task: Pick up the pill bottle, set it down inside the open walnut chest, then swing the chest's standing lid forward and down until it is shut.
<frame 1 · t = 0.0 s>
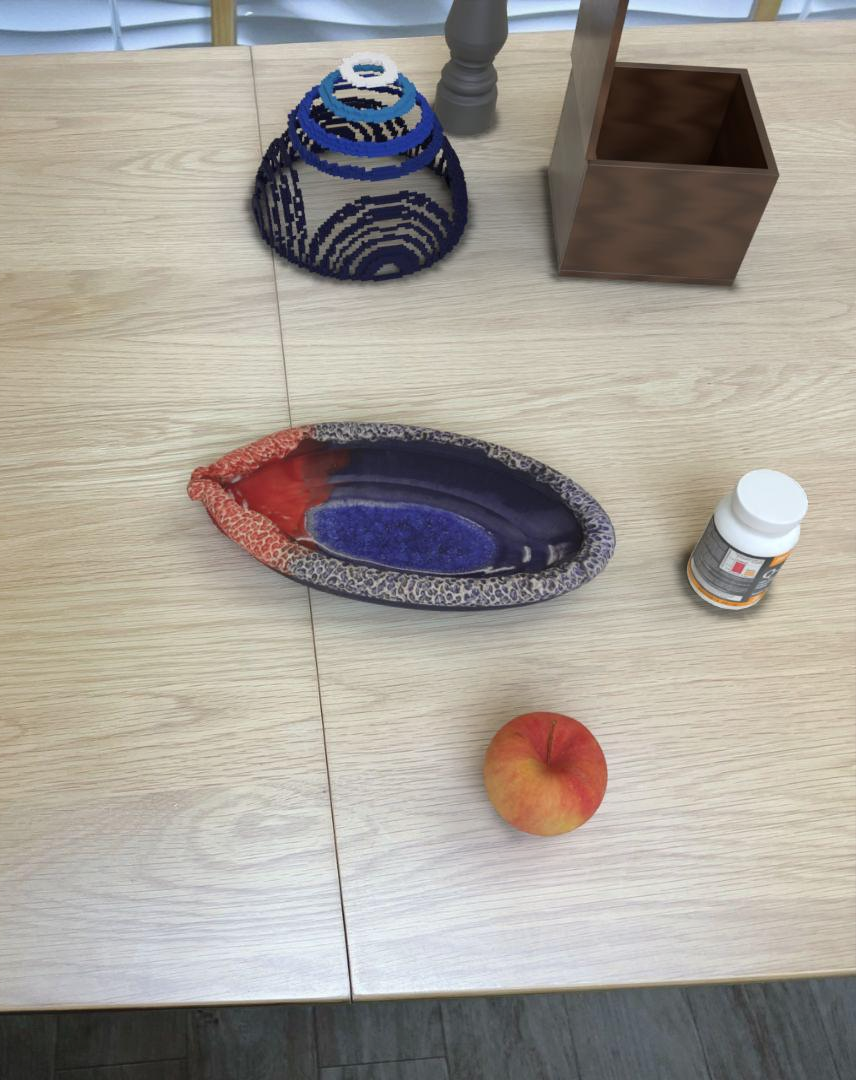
chest: (635, 226, 103), on the table
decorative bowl: (360, 212, 104), on the table
dish: (395, 538, 82), on the table
pill bottle: (722, 581, 80), on the table
apple: (531, 801, 70), on the table
candle holder: (462, 119, 113), on the table
lid: (600, 10, 87), point 20 cm above the table, hinge at 92.0°
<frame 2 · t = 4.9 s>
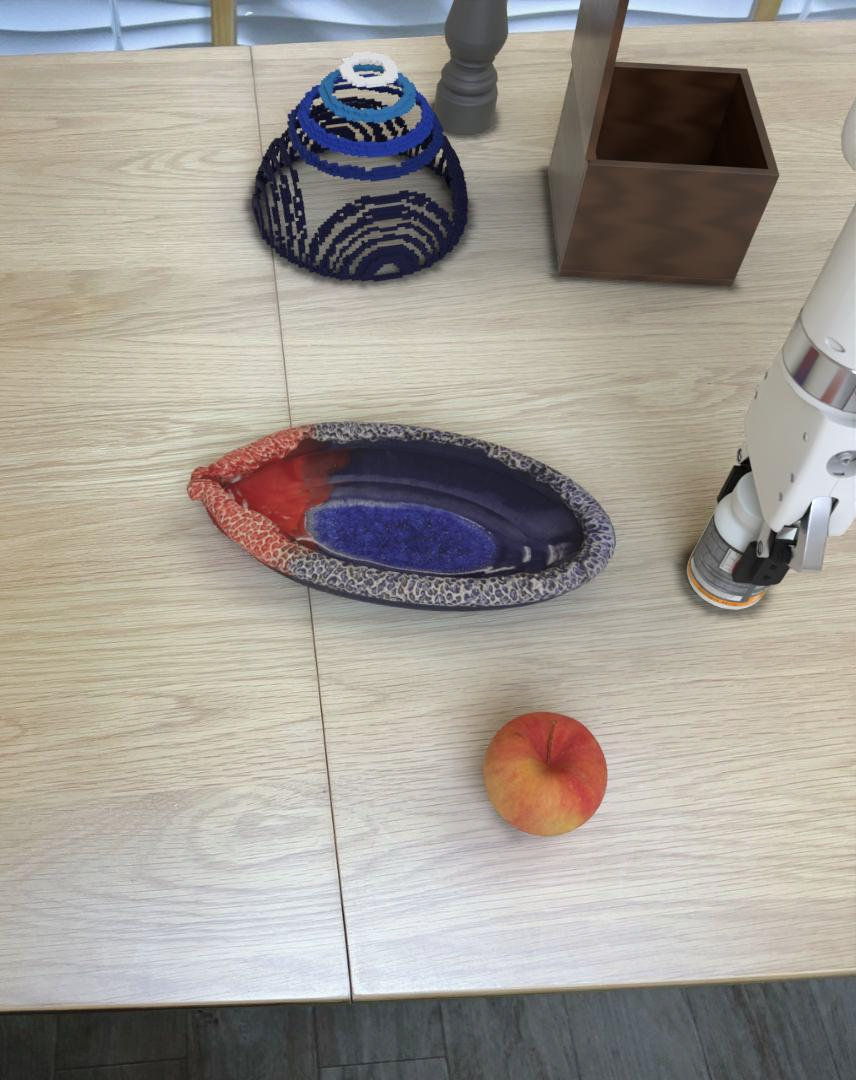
hand: (746, 540, 76), 5 cm above the table, tool pointing down, fingers closed on pill bottle, 5 cm apart
pill bottle: (722, 581, 80), on the table, touching gripper
everything else where it was.
when the fingers open (7 cm above the table, at t = 14.2 s): pill bottle stays where it is, resting on chest.
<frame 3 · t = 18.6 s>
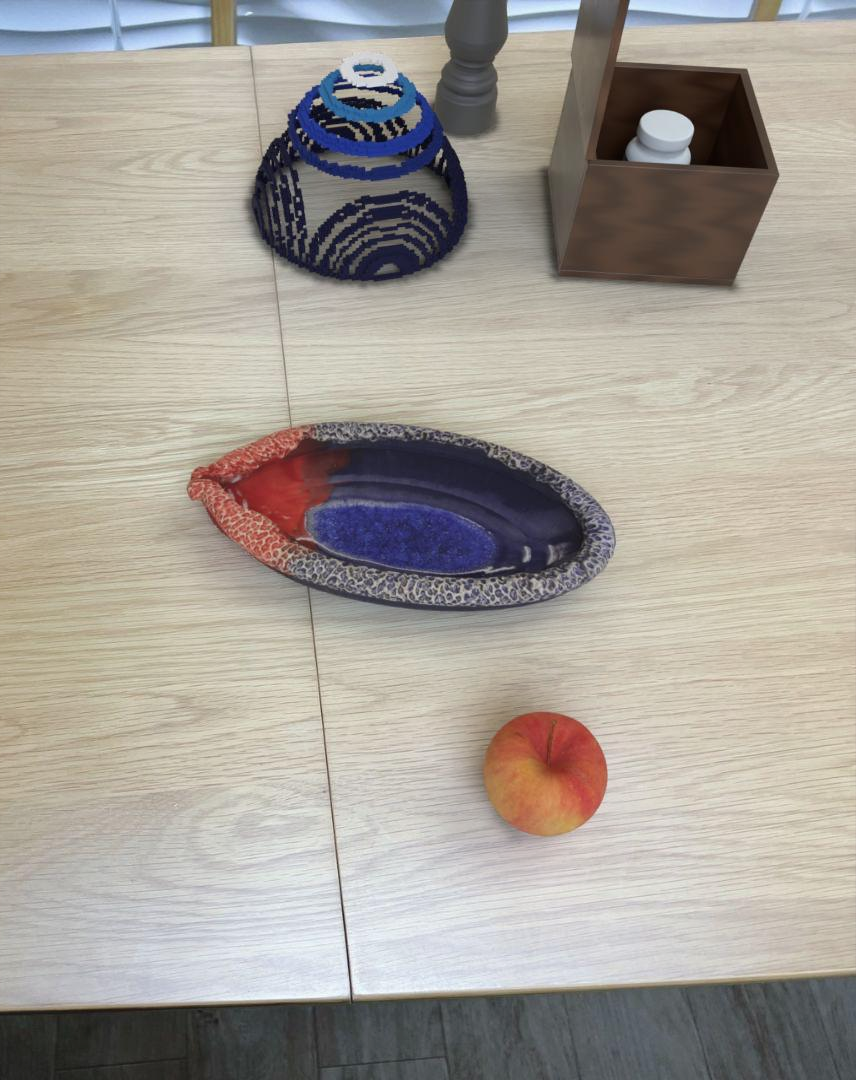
pill bottle: (637, 221, 103), point 1 cm above the table, touching chest
lid: (601, 10, 87), point 20 cm above the table, hinge at 91.7°, touching gripper
everything else where it was.
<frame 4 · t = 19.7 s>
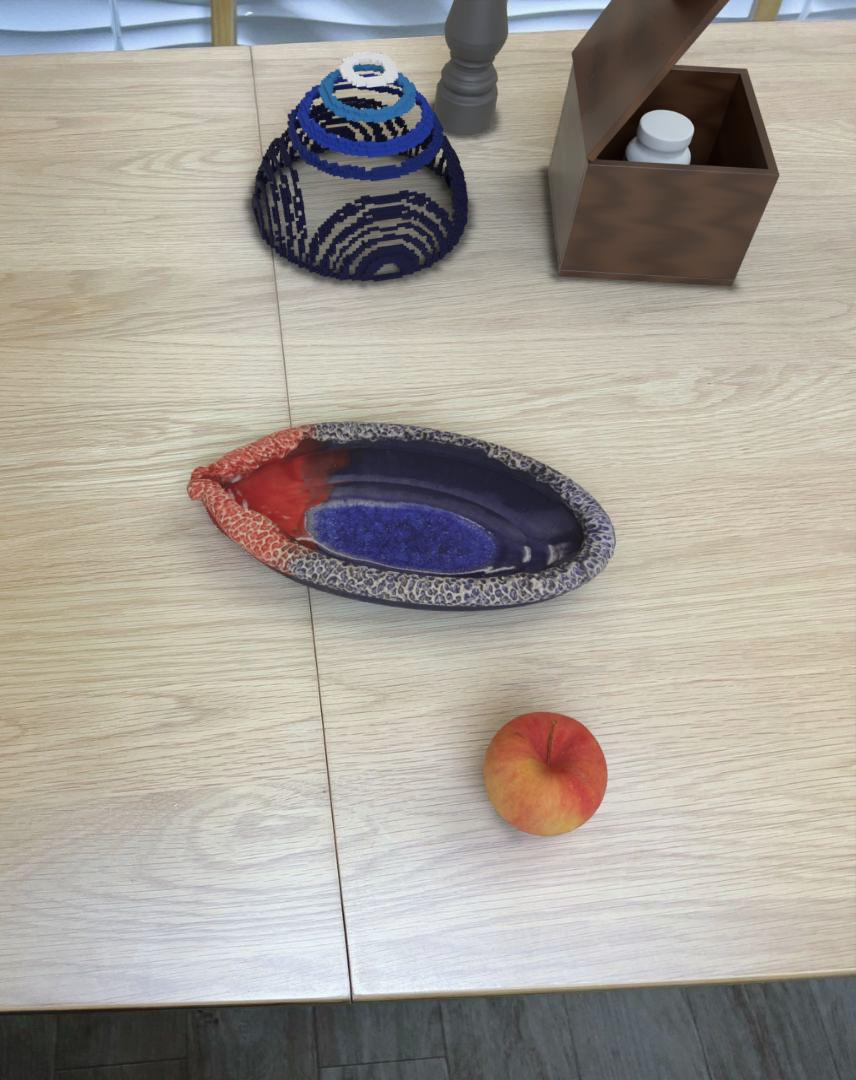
lid: (646, 22, 87), point 20 cm above the table, hinge at 64.2°, touching gripper
everything else where it was.
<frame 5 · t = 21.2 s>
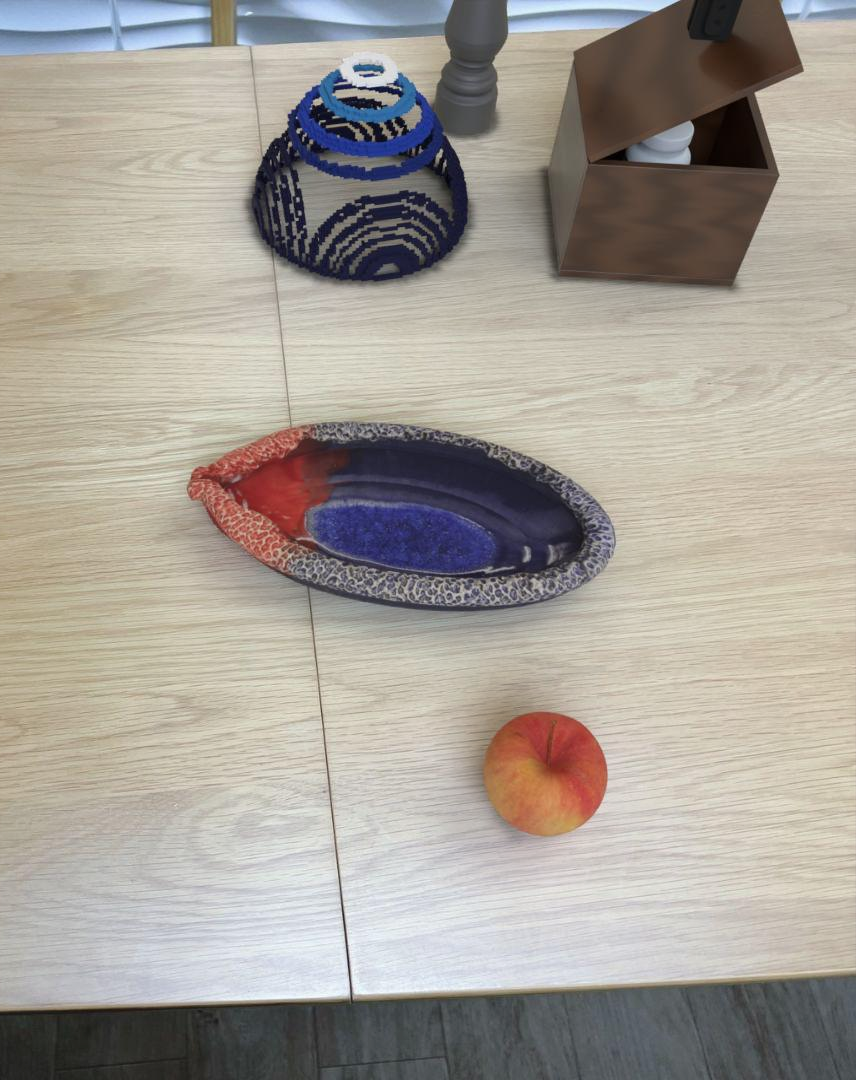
hand: (706, 34, 88), 19 cm above the table, tool pointing down, fingers closed
lid: (678, 60, 90), point 17 cm above the table, hinge at 32.4°, touching gripper
everything else where it was.
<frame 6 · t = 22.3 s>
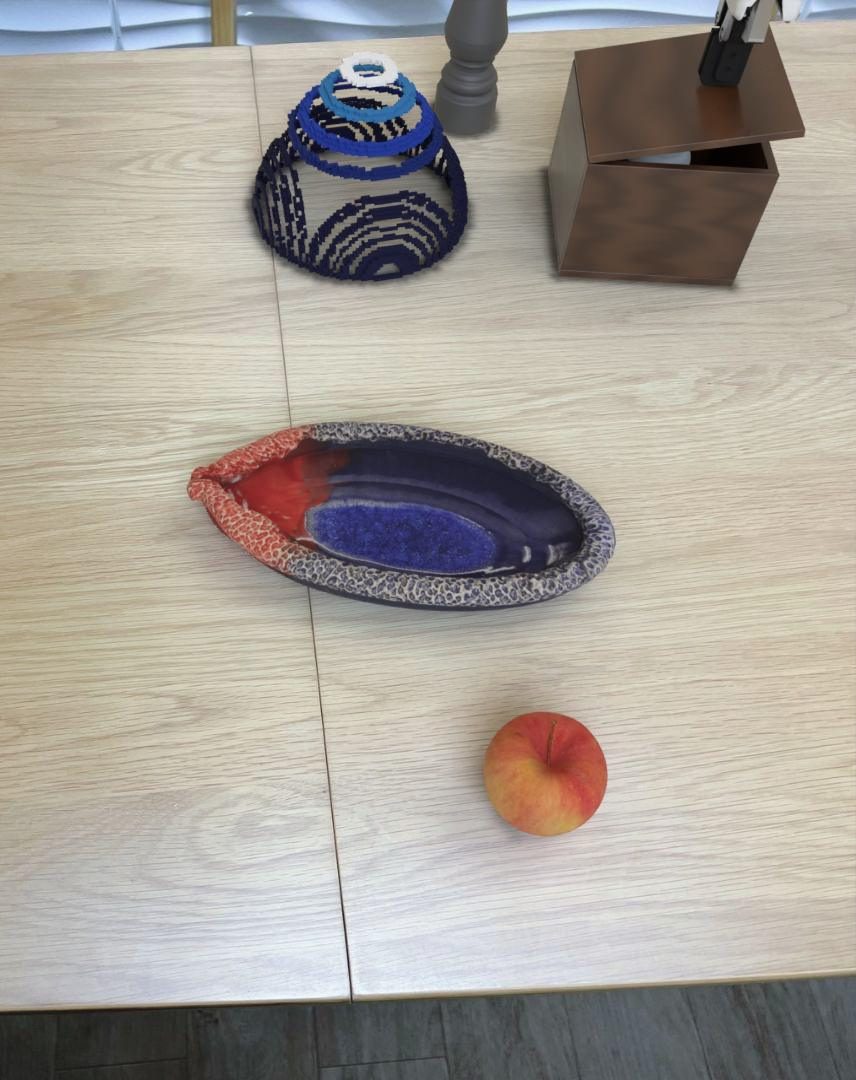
hand: (717, 79, 91), 15 cm above the table, tool pointing down, fingers closed
lid: (682, 91, 92), point 14 cm above the table, hinge at 12.1°, touching gripper
everything else where it was.
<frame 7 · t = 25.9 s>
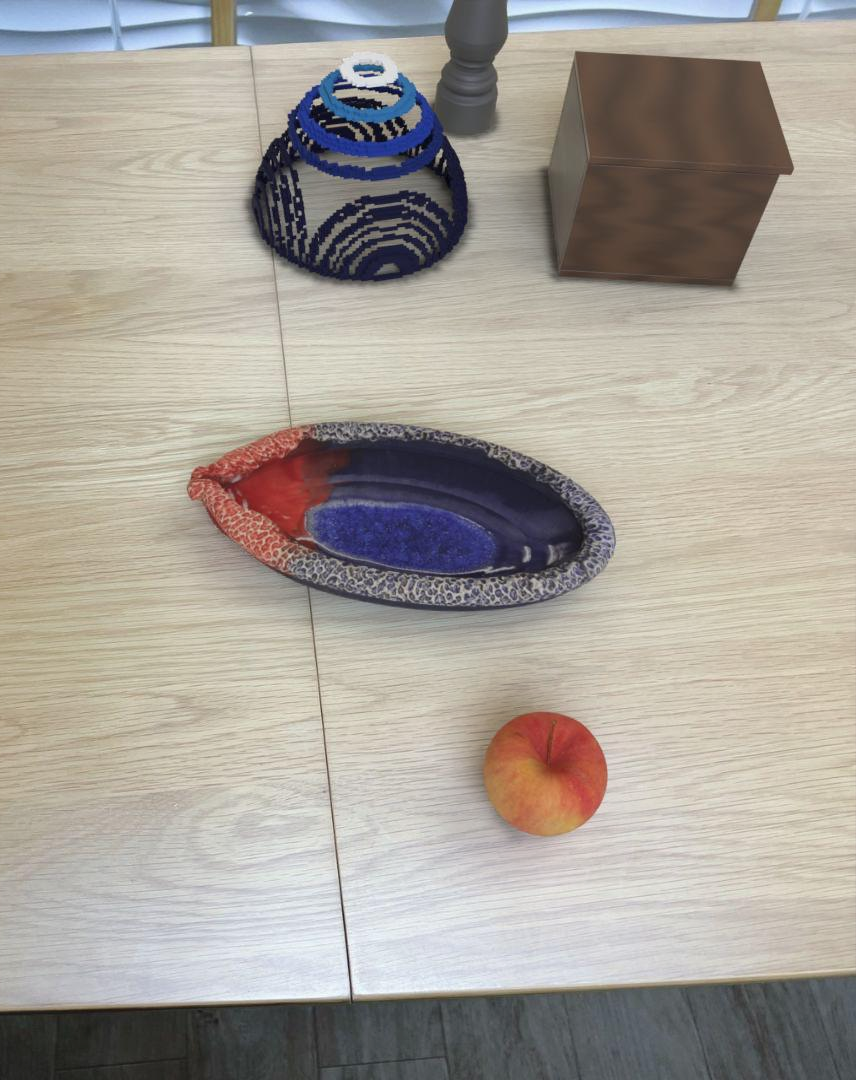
lid: (678, 110, 93), point 12 cm above the table, hinge at 0.0°
everything else where it was.
at the end: pill bottle inside the target area in the chest (0.0 cm from its centre), point 0.6 cm above the chest's base; lid at +0° (first picture: +92°) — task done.
